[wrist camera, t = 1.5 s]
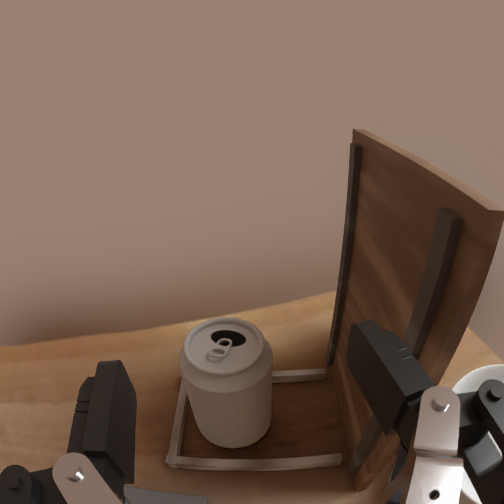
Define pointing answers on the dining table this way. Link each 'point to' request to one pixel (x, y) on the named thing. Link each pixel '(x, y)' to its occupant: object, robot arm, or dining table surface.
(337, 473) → the dining table surface
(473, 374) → the cereal bowl
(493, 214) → the wooden stand
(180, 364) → the can
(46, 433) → the dining table surface
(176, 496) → the slate board
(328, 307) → the dining table surface
